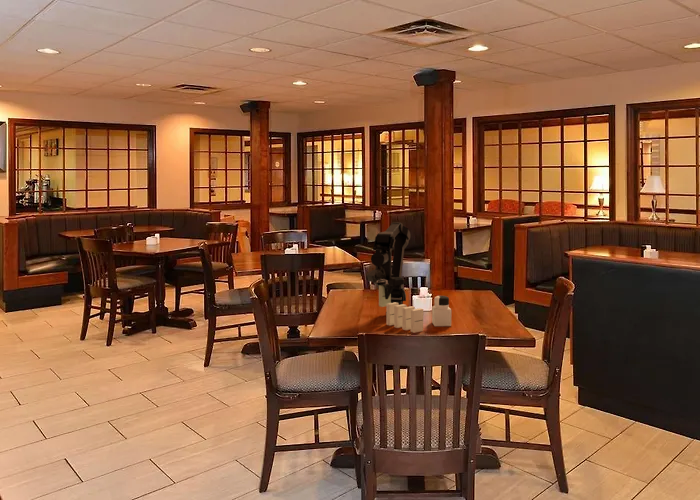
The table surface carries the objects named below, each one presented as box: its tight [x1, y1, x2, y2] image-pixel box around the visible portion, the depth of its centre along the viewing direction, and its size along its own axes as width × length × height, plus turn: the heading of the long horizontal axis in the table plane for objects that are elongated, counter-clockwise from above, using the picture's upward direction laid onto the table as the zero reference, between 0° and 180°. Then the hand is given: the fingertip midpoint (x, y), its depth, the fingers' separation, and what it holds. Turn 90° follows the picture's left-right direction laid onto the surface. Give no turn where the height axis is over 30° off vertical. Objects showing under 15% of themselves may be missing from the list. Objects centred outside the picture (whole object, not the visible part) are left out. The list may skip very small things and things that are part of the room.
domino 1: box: [385, 302, 399, 326], centre depth 263 cm, size 2×5×9 cm, turn 127°
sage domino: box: [378, 285, 391, 308], centre depth 266 cm, size 2×5×9 cm, turn 127°
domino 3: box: [401, 305, 416, 331], centre depth 255 cm, size 2×5×9 cm, turn 127°
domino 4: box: [410, 307, 424, 334], centre depth 251 cm, size 2×5×9 cm, turn 127°
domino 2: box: [393, 303, 408, 329], centre depth 259 cm, size 2×5×9 cm, turn 127°
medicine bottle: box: [431, 295, 452, 327], centre depth 262 cm, size 7×7×12 cm
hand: (384, 298), depth 266 cm, fingers closed on sage domino, 2 cm apart
